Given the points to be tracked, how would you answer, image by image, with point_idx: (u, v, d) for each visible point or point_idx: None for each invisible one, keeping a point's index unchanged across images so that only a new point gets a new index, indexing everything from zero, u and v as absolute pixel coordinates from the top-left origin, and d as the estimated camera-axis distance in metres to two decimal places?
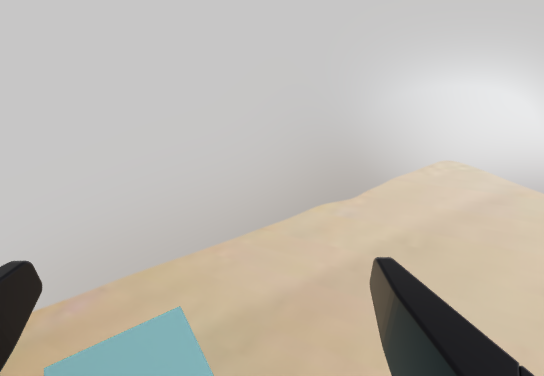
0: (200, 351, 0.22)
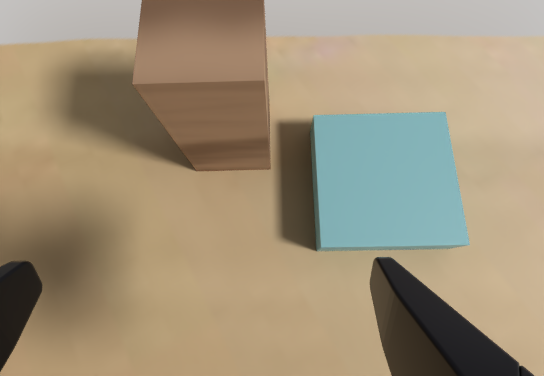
0: (455, 173, 0.21)
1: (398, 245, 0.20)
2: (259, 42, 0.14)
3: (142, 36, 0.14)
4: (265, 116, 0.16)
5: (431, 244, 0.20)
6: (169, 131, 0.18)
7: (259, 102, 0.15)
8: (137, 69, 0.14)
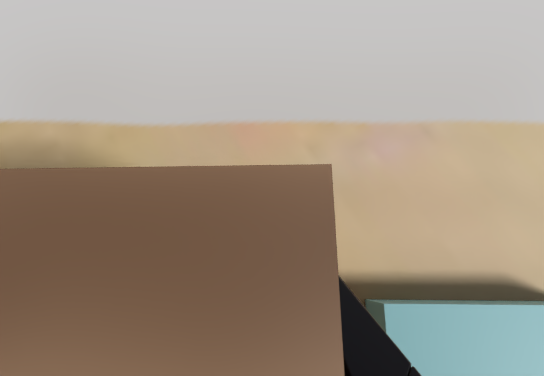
0: None
1: None
2: None
3: None
4: None
5: None
6: None
7: None
8: None
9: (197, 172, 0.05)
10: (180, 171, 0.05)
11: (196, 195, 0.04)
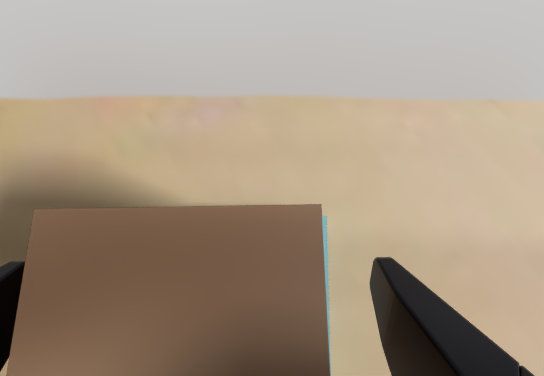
0: (327, 303, 0.16)
1: None
2: None
3: None
4: None
5: None
6: None
7: None
8: None
9: (220, 210, 0.06)
10: (207, 210, 0.06)
11: (220, 228, 0.06)
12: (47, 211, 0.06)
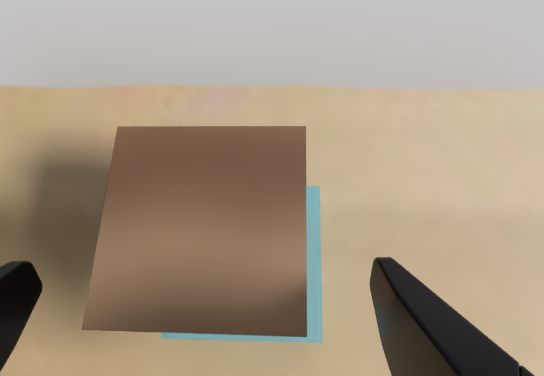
0: (319, 258, 0.19)
1: (245, 339, 0.18)
2: (298, 255, 0.08)
3: (106, 232, 0.09)
4: None
5: (281, 340, 0.18)
6: None
7: None
8: (92, 299, 0.08)
9: (238, 129, 0.09)
10: (230, 129, 0.09)
11: (238, 140, 0.09)
12: (125, 128, 0.09)
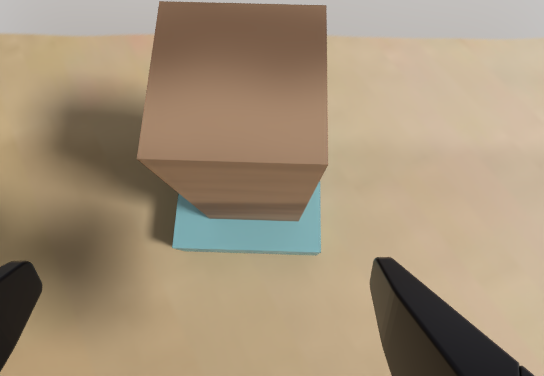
0: None
1: (249, 249, 0.20)
2: (320, 104, 0.10)
3: (154, 85, 0.10)
4: (312, 190, 0.12)
5: (282, 250, 0.19)
6: (182, 194, 0.14)
7: (310, 180, 0.11)
8: (144, 136, 0.09)
9: (268, 6, 0.11)
10: (260, 5, 0.11)
11: (267, 15, 0.10)
12: (166, 3, 0.11)
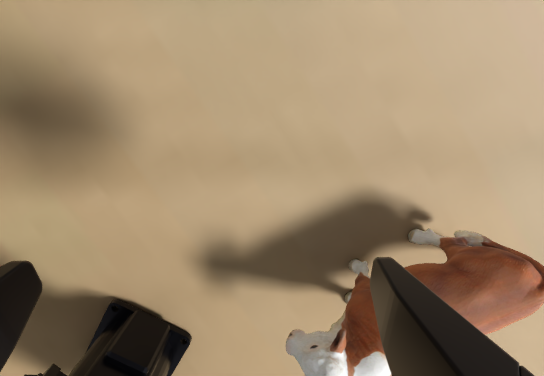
0: None
1: None
2: None
3: None
4: None
5: None
6: None
7: None
8: None
9: None
10: None
11: None
12: None
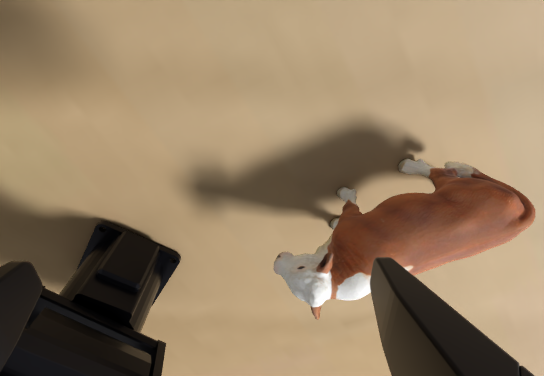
0: None
1: None
2: None
3: None
4: None
5: None
6: None
7: None
8: None
9: None
10: None
11: None
12: None
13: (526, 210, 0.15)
